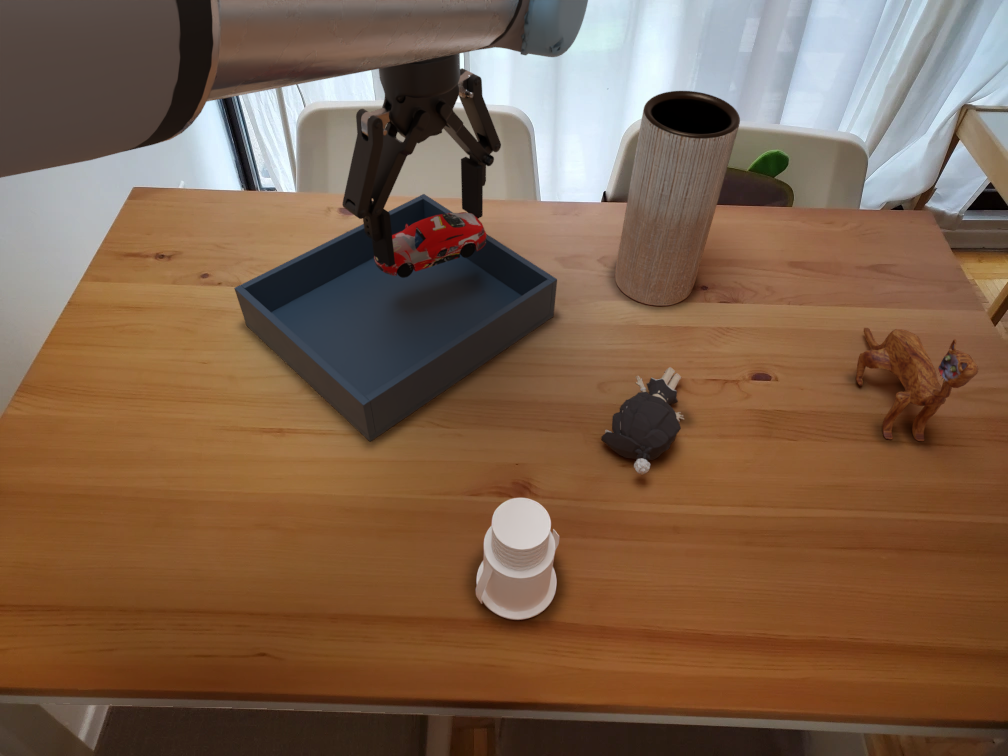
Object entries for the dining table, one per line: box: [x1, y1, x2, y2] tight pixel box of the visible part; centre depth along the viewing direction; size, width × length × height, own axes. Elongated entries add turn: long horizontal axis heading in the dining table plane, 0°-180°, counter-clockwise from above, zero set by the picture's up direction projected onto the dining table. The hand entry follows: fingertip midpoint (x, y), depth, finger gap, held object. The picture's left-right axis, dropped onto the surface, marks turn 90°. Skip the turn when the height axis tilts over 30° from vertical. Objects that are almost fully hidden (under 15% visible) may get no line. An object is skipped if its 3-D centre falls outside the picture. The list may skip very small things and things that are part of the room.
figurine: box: [600, 366, 685, 475], centre depth 73 cm, size 7×6×15 cm
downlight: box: [475, 497, 561, 621], centre depth 60 cm, size 8×7×10 cm
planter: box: [614, 90, 741, 306], centre depth 83 cm, size 10×10×23 cm
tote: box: [234, 193, 558, 443], centre depth 83 cm, size 28×24×6 cm
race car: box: [374, 211, 487, 278], centre depth 81 cm, size 13×5×4 cm, turn 118°
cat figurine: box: [855, 327, 979, 442], centre depth 75 cm, size 18×7×14 cm, turn 177°
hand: (430, 235), depth 81 cm, fingers closed on race car, 12 cm apart
